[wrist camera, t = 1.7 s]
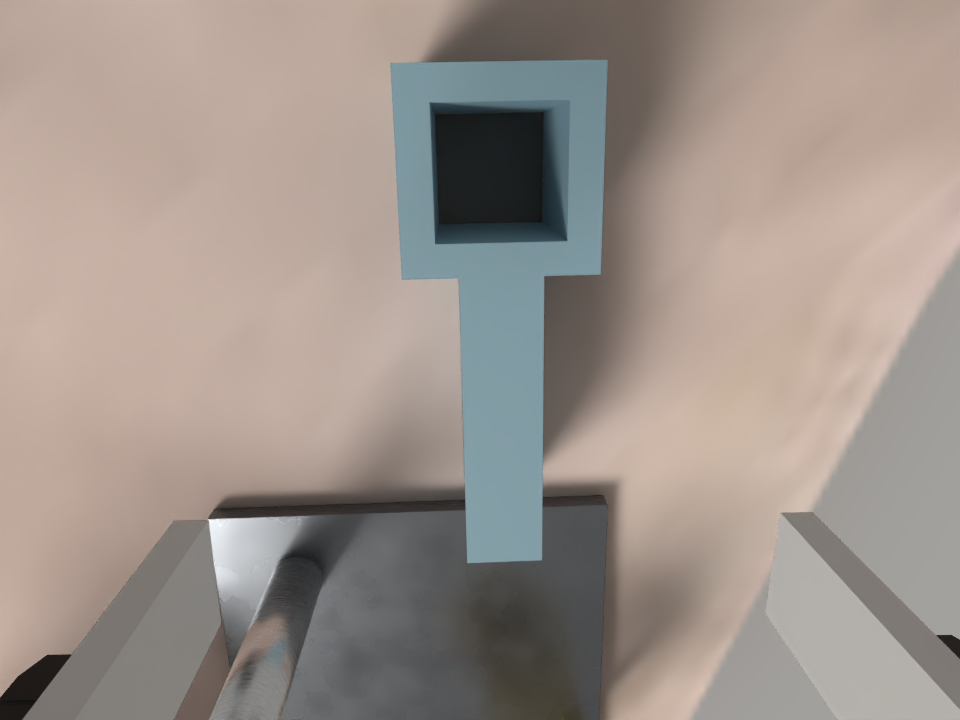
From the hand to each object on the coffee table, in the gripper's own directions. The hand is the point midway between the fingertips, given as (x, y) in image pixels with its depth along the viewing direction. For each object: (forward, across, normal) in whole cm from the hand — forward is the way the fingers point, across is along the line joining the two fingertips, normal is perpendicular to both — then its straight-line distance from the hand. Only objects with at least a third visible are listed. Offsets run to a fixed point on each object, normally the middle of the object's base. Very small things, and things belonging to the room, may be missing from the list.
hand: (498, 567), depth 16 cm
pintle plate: (+17, -3, -17) cm, 25 cm away
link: (+17, +1, +3) cm, 17 cm away
